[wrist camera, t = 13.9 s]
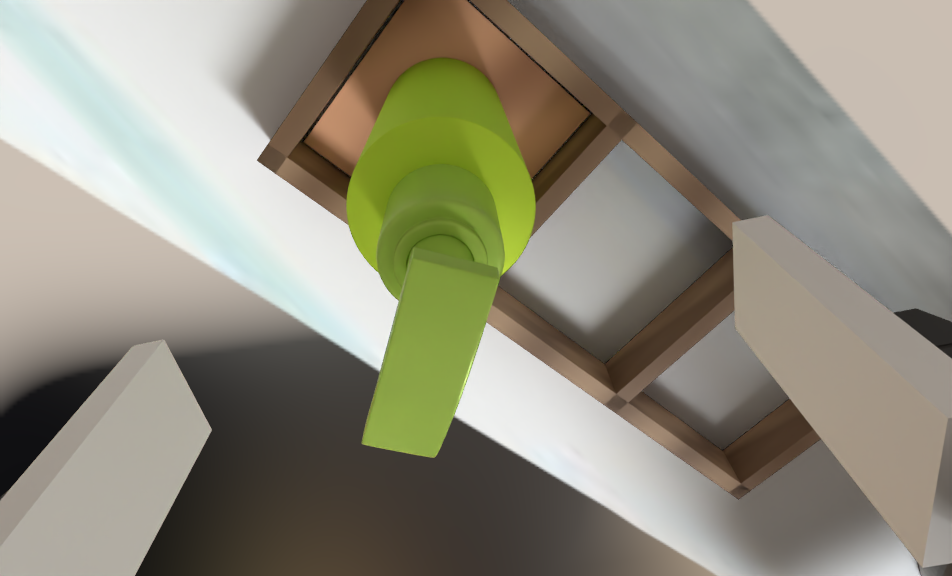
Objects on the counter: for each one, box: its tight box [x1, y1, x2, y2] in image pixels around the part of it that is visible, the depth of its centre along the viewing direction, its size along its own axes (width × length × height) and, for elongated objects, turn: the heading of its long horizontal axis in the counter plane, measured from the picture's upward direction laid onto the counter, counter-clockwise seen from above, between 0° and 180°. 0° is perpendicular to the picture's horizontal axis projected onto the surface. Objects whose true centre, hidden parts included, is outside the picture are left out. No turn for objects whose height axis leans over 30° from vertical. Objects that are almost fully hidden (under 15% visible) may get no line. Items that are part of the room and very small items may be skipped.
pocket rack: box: [257, 0, 821, 500], centre depth 34 cm, size 36×12×3 cm, turn 50°
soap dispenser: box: [346, 58, 536, 458], centre depth 22 cm, size 6×7×20 cm
